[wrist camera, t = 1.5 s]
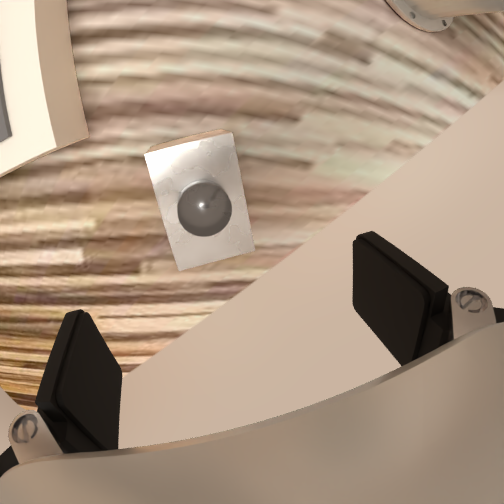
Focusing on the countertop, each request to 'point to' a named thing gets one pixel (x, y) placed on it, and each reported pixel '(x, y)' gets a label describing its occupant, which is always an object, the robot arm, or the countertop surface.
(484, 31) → the countertop surface
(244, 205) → the housing
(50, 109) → the stand
